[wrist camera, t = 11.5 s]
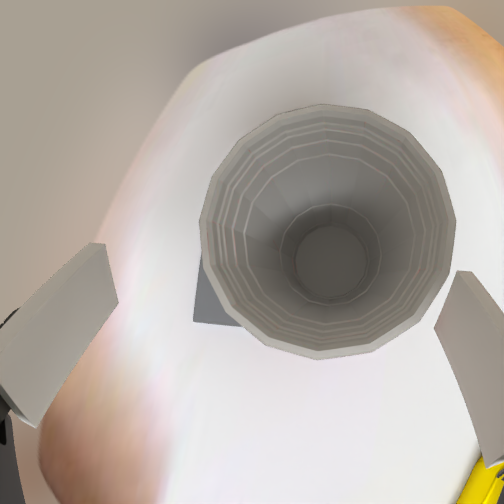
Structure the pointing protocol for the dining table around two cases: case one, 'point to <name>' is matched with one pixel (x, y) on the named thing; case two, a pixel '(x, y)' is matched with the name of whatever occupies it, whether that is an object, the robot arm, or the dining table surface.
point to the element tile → (482, 485)
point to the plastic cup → (327, 231)
